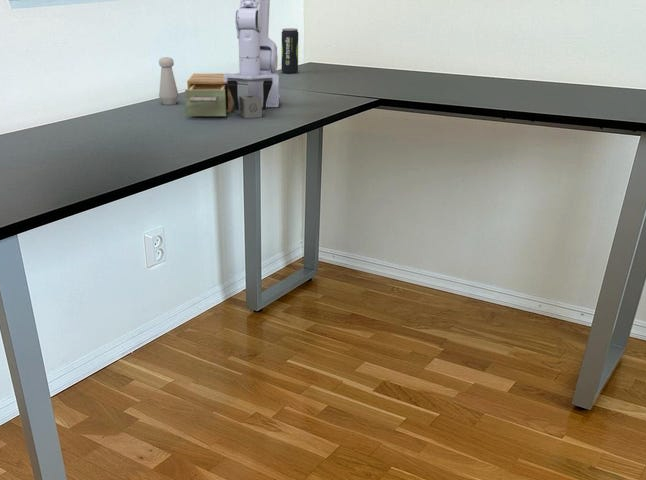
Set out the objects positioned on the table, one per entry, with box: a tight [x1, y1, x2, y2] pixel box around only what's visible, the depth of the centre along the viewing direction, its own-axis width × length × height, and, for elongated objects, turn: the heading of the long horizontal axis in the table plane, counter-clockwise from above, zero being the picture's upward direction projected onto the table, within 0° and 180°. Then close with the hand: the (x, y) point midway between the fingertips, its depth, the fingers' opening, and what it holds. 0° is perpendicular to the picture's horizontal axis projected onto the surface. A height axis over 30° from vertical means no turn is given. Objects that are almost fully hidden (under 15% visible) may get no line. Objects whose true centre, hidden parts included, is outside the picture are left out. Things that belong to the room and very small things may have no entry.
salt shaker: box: [158, 56, 179, 106], centre depth 211 cm, size 6×6×13 cm
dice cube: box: [238, 95, 263, 119], centre depth 197 cm, size 5×5×5 cm
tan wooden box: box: [186, 73, 235, 114], centre depth 206 cm, size 14×12×9 cm
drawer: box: [184, 84, 227, 117], centre depth 195 cm, size 18×11×7 cm, turn 178°
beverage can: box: [281, 27, 299, 75], centre depth 262 cm, size 6×6×15 cm
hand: (250, 109), depth 197 cm, fingers open, 7 cm apart
